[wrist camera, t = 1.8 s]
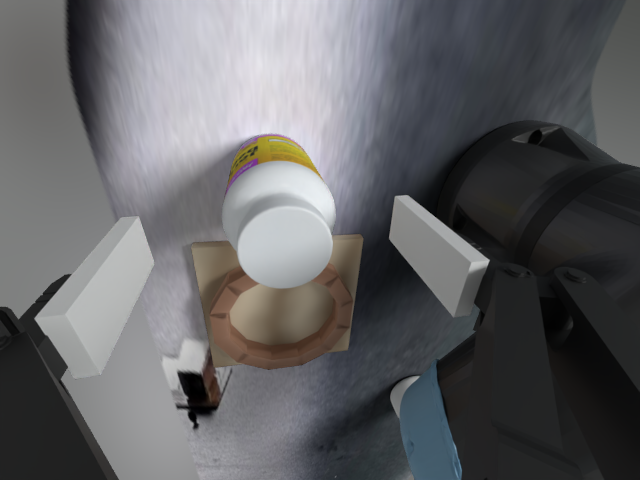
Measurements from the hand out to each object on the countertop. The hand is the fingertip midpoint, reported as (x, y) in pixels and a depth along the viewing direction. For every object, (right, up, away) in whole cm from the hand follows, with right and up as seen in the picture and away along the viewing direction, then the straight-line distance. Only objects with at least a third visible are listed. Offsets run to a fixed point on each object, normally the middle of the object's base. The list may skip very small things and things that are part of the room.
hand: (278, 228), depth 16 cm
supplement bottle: (-2, +5, +10) cm, 11 cm away
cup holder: (-2, -7, +17) cm, 18 cm away
